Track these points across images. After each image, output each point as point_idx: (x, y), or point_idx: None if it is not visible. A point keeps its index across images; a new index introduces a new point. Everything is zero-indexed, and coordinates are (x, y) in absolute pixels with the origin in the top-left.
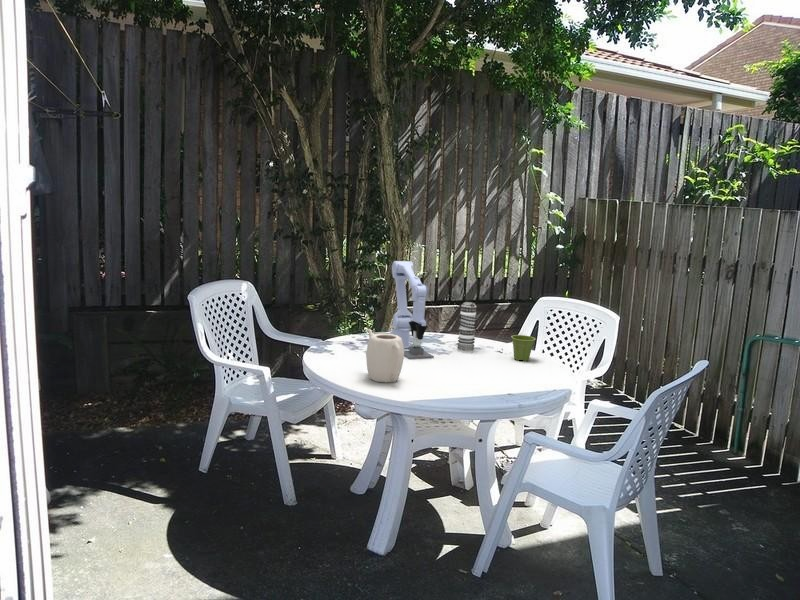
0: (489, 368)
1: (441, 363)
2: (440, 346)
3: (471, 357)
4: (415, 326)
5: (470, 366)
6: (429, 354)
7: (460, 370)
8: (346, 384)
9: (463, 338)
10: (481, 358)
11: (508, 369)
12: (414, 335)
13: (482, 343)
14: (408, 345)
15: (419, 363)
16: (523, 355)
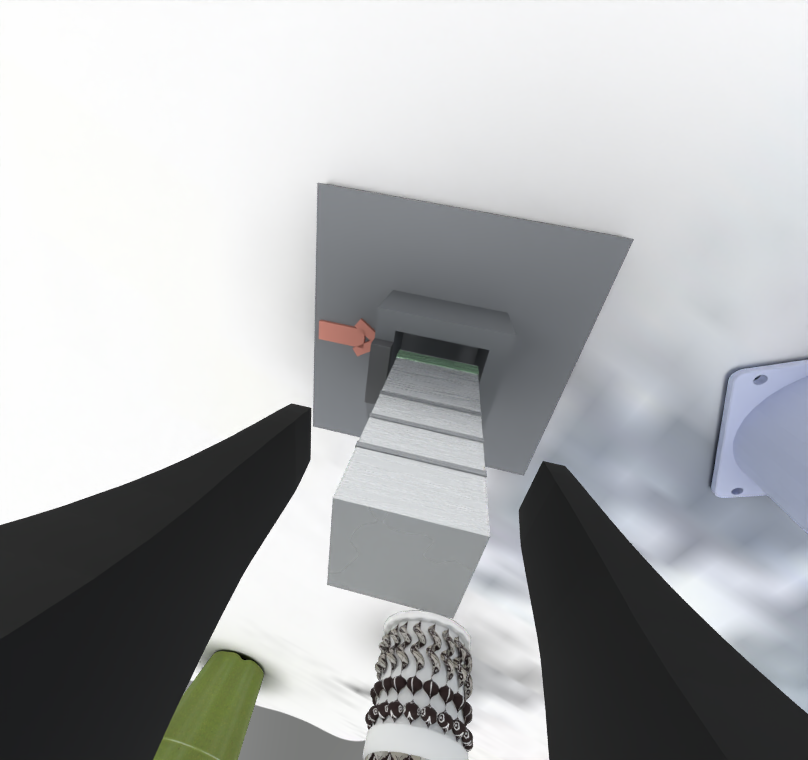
0: None
1: (173, 375)
2: None
3: (299, 581)
4: (589, 728)
5: (117, 473)
6: None
7: (13, 375)
8: None
9: (393, 719)
10: (274, 596)
11: None
12: (423, 446)
13: (522, 739)
14: (744, 470)
15: (164, 199)
16: (193, 681)
